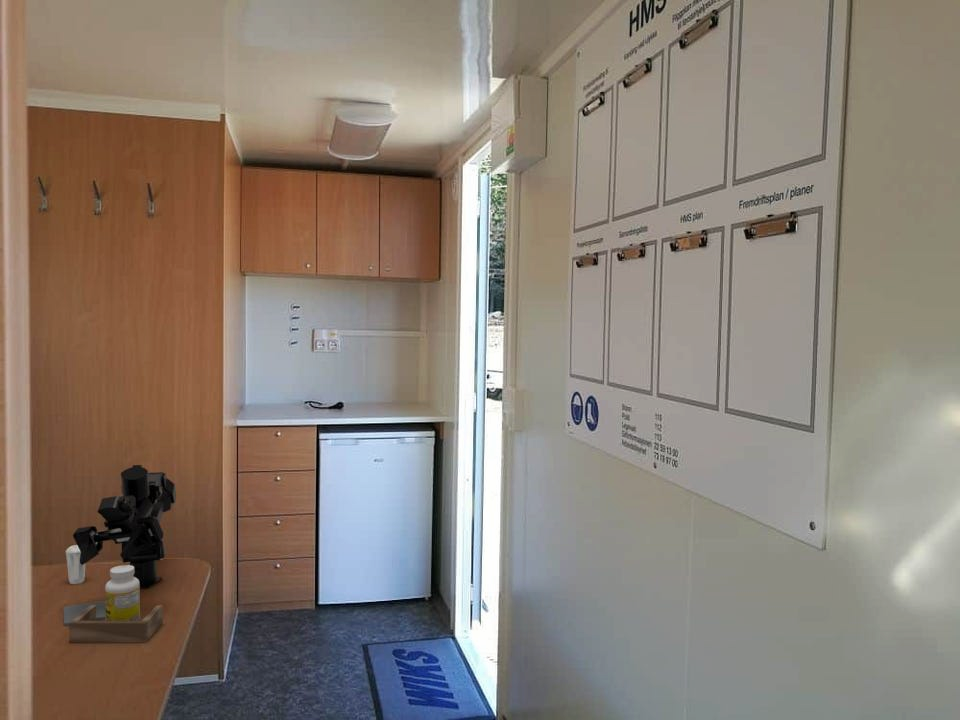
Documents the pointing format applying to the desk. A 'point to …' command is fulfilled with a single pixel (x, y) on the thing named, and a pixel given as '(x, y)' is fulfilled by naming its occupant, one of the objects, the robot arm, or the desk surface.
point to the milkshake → (75, 565)
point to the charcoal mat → (76, 610)
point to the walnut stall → (113, 627)
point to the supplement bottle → (122, 595)
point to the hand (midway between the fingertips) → (101, 559)
